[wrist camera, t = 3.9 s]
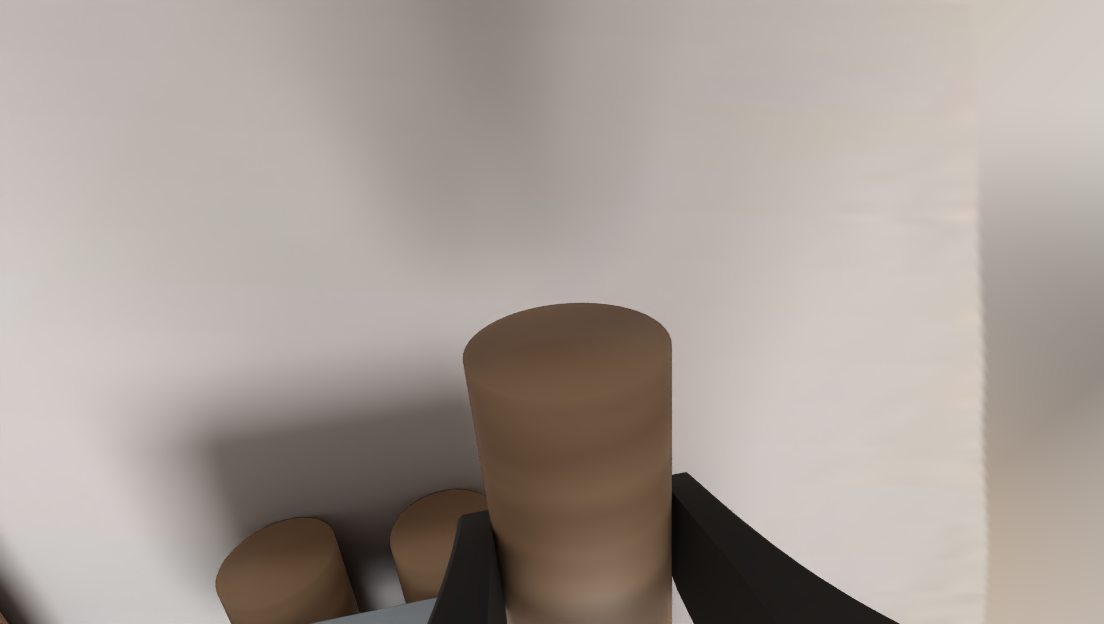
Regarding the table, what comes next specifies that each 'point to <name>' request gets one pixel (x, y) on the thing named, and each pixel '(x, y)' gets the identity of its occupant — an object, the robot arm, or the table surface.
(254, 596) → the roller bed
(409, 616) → the slab
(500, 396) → the roller
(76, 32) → the table surface
